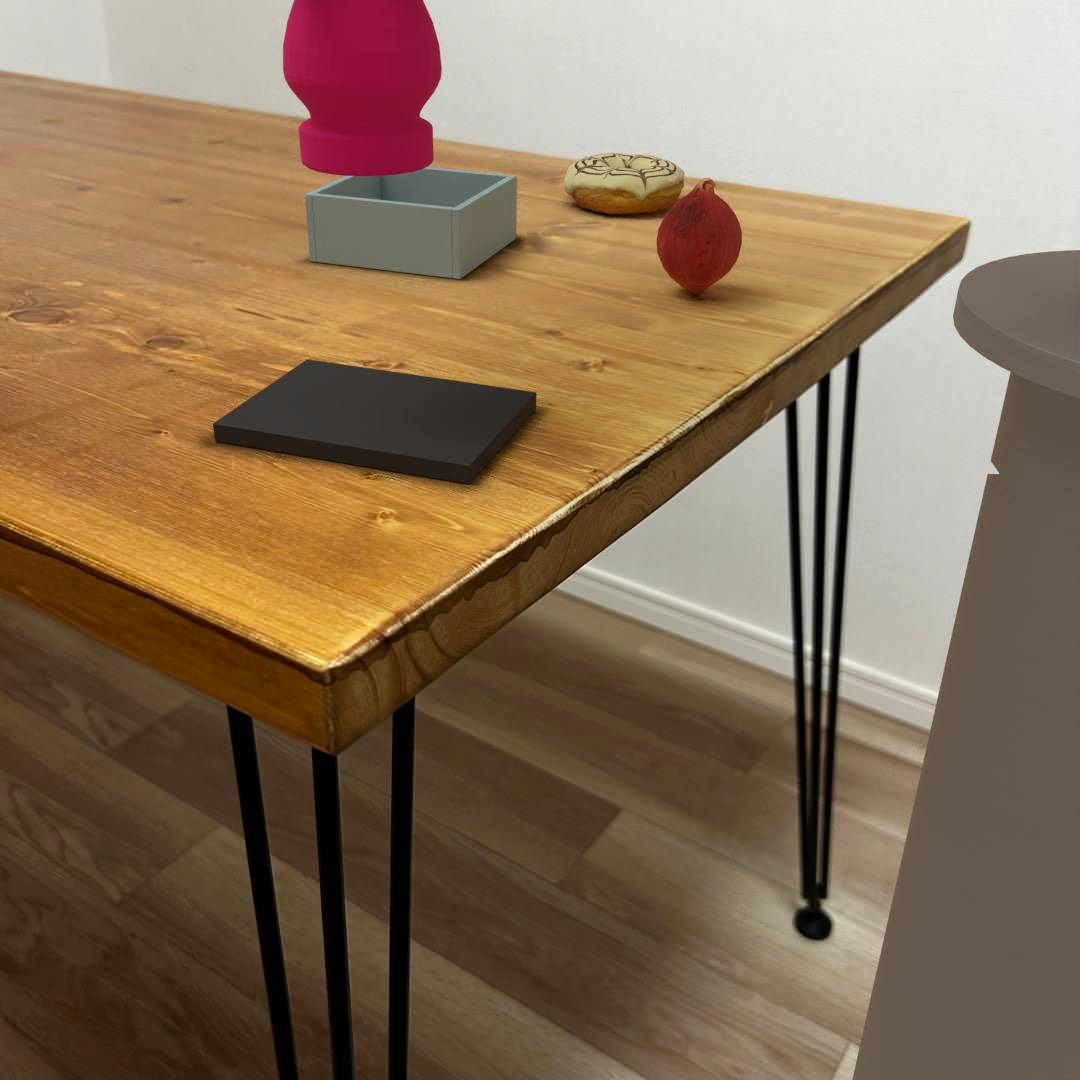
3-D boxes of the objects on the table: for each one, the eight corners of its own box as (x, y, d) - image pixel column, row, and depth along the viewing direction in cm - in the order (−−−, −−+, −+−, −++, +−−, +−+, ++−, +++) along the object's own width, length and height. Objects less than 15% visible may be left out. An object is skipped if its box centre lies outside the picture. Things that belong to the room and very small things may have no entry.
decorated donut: (545, 209, 105) (545, 165, 103) (593, 185, 114) (594, 144, 112) (655, 223, 101) (658, 178, 100) (697, 198, 110) (700, 155, 108)
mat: (536, 409, 66) (536, 391, 65) (469, 484, 57) (469, 465, 57) (308, 375, 69) (307, 358, 69) (214, 441, 61) (212, 423, 60)
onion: (709, 312, 81) (719, 192, 77) (637, 295, 84) (644, 179, 80) (750, 292, 85) (762, 177, 81) (680, 277, 88) (689, 165, 84)
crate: (516, 238, 97) (517, 175, 94) (460, 279, 86) (459, 209, 84) (379, 223, 100) (376, 162, 97) (309, 261, 90) (304, 193, 87)
